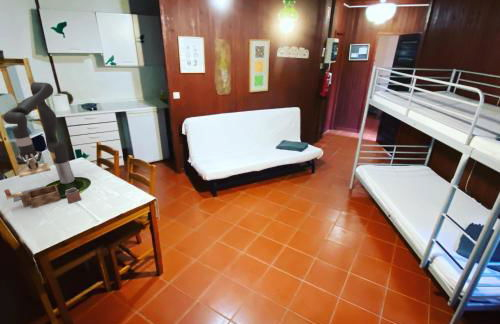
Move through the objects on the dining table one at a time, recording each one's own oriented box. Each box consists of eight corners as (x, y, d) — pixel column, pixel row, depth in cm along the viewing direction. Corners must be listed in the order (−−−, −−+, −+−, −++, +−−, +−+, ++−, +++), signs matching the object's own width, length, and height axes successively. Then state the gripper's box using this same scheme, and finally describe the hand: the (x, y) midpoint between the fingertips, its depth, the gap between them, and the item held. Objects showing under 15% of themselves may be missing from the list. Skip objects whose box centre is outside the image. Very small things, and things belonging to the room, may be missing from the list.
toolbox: (58, 192, 189) (55, 182, 186) (61, 199, 181) (57, 189, 178) (23, 202, 177) (19, 192, 174) (24, 210, 169) (20, 199, 166)
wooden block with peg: (22, 193, 171) (19, 186, 169) (23, 195, 170) (19, 187, 167) (6, 198, 166) (3, 190, 164) (7, 199, 165) (3, 191, 162)
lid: (48, 164, 180) (45, 155, 177) (50, 170, 172) (48, 161, 169) (18, 170, 170) (15, 162, 168) (19, 177, 162) (16, 168, 160)
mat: (44, 186, 196) (44, 186, 196) (46, 193, 188) (45, 192, 188) (13, 194, 186) (13, 193, 185) (13, 201, 178) (13, 201, 177)
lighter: (80, 197, 184) (77, 185, 180) (82, 199, 182) (78, 187, 178) (67, 202, 179) (63, 189, 175) (68, 204, 177) (64, 191, 173)
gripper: (37, 139, 169) (46, 163, 177) (10, 144, 161) (20, 169, 169) (39, 142, 164) (47, 167, 172) (10, 148, 156) (20, 173, 164)
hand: (33, 168), depth 170 cm, fingers closed on lid, 2 cm apart
